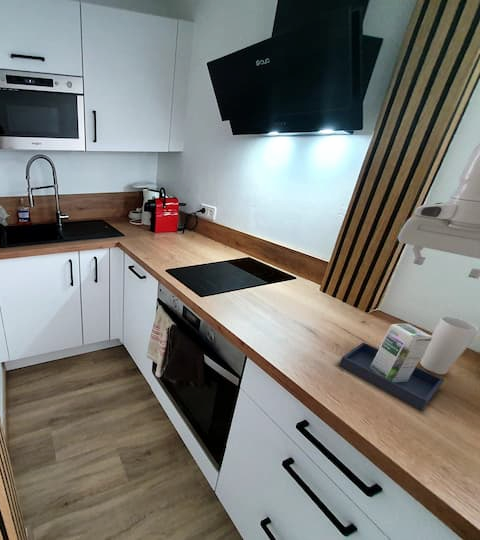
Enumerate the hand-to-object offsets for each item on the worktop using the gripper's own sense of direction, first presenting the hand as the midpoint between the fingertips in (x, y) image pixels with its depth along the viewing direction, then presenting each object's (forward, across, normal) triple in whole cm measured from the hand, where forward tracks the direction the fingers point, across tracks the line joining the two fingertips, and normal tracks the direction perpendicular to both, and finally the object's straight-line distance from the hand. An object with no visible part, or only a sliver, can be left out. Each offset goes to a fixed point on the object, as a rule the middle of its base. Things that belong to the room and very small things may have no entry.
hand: (444, 270), depth 68 cm
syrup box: (+29, 0, +8) cm, 30 cm away
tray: (+29, 0, +8) cm, 30 cm away
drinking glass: (+30, -6, -8) cm, 31 cm away
